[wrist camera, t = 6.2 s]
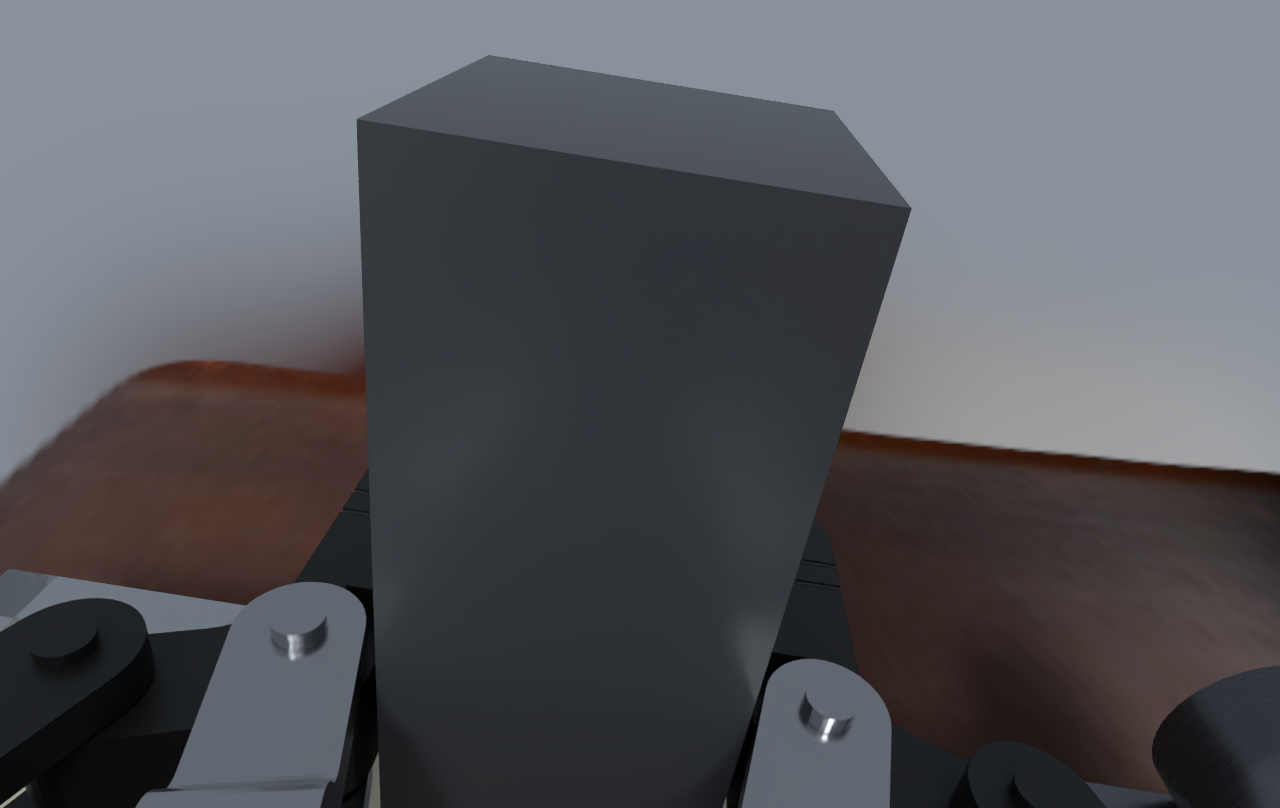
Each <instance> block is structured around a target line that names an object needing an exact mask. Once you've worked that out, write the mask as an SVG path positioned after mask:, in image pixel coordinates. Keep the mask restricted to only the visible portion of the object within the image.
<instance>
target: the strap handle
mask: <svg viewBox="0 0 1280 808" xmlns="http://www.w3.org/2000/svg"><path fill="white" fill-rule="evenodd" d="M357 142H358V173H359V199H360V200H359V201H360V229H361V258H362V288H363V317H364V345H365V374H366V403H367V432H368V461H369V490H370V519H371V548H372V576H373V605H374V634H375V663H376V692H377V721H378V749H379V778H380V807H381V808H723V805H724V802H725V799H726V796H727V793H728V789H729V786H730V783H731V780H732V777H733V774H734V770H735V767H736V764H737V761H738V758H739V755H740V751H741V748H742V745H743V742H744V739H745V736H746V732H747V729H748V726H749V723H750V720H751V716H752V713H753V710H754V707H755V704H756V701H757V697H758V694H759V691H760V688H761V685H762V682H763V678H764V675H765V672H766V669H767V666H768V663H769V659H770V656H771V653H772V650H773V647H774V643H775V640H776V637H777V634H778V631H779V628H780V624H781V621H782V618H783V615H784V612H785V609H786V605H787V602H788V599H789V596H790V593H791V590H792V586H793V583H794V580H795V577H796V574H797V570H798V567H799V564H800V561H801V558H802V555H803V551H804V548H805V545H806V542H807V539H808V536H809V532H810V529H811V526H812V523H813V520H814V517H815V513H816V510H817V507H818V504H819V501H820V497H821V494H822V491H823V488H824V485H825V482H826V478H827V475H828V472H829V469H830V466H831V463H832V459H833V456H834V453H835V450H836V447H837V444H838V440H839V437H840V434H841V431H842V428H843V424H844V421H845V418H846V415H847V412H848V409H849V405H850V402H851V399H852V396H853V393H854V390H855V386H856V383H857V380H858V377H859V374H860V370H861V367H862V364H863V361H864V358H865V354H866V351H867V348H868V345H869V342H870V339H871V335H872V332H873V329H874V326H875V323H876V320H877V317H878V313H879V310H880V307H881V304H882V301H883V298H884V294H885V291H886V288H887V285H888V282H889V279H890V275H891V272H892V269H893V266H894V263H895V259H896V256H897V253H898V250H899V247H900V243H901V240H902V237H903V234H904V230H905V228H906V225H907V221H908V218H909V215H910V212H911V207H910V206H909V204H908V203H907V202H906V201H905V200H904V198H903V197H902V196H901V195H900V193H899V192H898V191H897V190H896V188H895V187H894V186H893V185H892V183H891V182H890V181H889V180H888V178H887V177H886V176H885V175H884V173H883V172H882V171H881V170H880V168H879V167H878V166H877V165H876V163H875V162H874V161H873V160H872V158H871V157H870V156H869V155H868V153H867V152H866V151H865V150H864V148H863V147H862V146H861V145H860V143H859V142H858V141H857V140H856V138H855V137H854V136H853V135H852V133H851V132H850V131H849V130H848V128H847V127H846V126H845V125H844V124H843V122H842V121H841V120H840V119H839V117H838V116H837V115H836V113H835V112H834V111H831V110H825V109H818V108H812V107H806V106H800V105H794V104H788V103H781V102H775V101H769V100H763V99H757V98H751V97H744V96H738V95H732V94H726V93H720V92H713V91H707V90H701V89H695V88H688V87H682V86H676V85H670V84H664V83H657V82H651V81H645V80H639V79H633V78H627V77H621V76H614V75H607V74H602V73H596V72H589V71H583V70H577V69H571V68H565V67H559V66H552V65H546V64H540V63H534V62H528V61H522V60H516V59H509V58H503V57H497V56H491V55H488V56H486V57H484V58H482V59H480V60H478V61H476V62H474V63H471V64H469V65H467V66H465V67H463V68H461V69H459V70H457V71H455V72H453V73H451V74H449V75H447V76H445V77H443V78H441V79H439V80H436V81H434V82H432V83H430V84H428V85H426V86H424V87H422V88H420V89H418V90H416V91H414V92H412V93H410V94H408V95H405V96H404V97H401V98H399V99H397V100H395V101H393V102H391V103H389V104H387V105H385V106H383V107H381V108H379V109H377V110H374V111H372V112H370V113H369V114H366V115H364V116H362V117H360V118H358V119H357Z"/></svg>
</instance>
